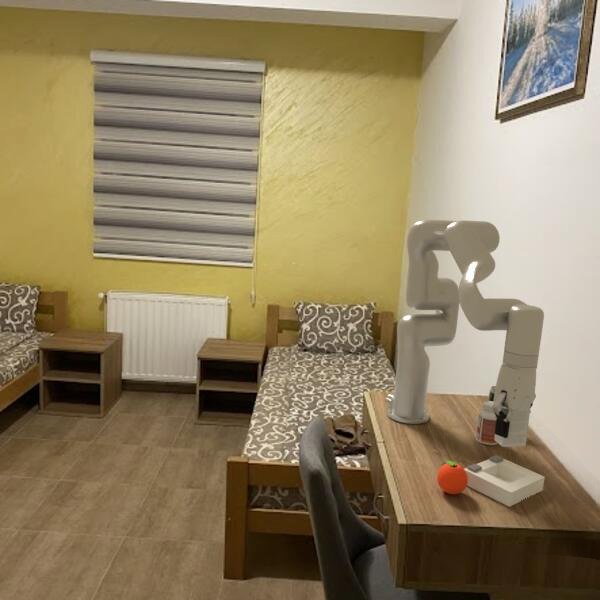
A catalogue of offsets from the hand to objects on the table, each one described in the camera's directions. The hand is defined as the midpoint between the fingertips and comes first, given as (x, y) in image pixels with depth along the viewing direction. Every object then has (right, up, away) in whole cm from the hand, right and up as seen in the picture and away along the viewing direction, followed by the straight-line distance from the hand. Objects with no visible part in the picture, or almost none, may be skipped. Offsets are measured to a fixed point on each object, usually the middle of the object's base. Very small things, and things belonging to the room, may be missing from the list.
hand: (510, 432), depth 147 cm
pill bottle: (+3, -9, +29) cm, 31 cm away
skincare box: (0, -3, 0) cm, 3 cm away
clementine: (-15, -14, -1) cm, 20 cm away
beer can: (+8, -7, +40) cm, 41 cm away
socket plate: (-1, -14, +3) cm, 14 cm away
